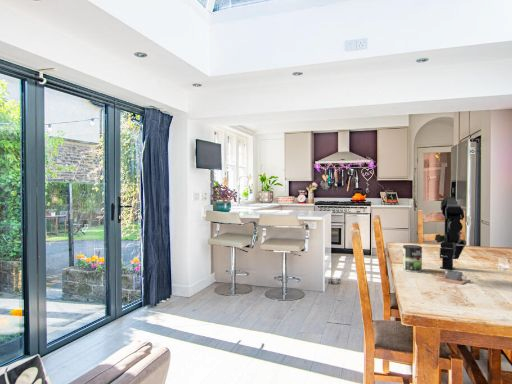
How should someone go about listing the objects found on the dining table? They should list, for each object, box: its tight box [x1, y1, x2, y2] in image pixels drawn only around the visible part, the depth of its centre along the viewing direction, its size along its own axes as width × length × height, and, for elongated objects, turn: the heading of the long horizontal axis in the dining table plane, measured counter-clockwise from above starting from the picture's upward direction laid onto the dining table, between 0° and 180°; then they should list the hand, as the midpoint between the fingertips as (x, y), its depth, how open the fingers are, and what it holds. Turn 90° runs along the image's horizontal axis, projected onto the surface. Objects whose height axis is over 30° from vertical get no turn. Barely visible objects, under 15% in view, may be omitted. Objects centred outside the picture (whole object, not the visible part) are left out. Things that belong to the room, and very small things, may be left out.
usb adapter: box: [444, 269, 468, 281], centre depth 190 cm, size 10×4×4 cm, turn 42°
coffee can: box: [402, 244, 423, 273], centre depth 214 cm, size 10×10×14 cm
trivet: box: [436, 275, 471, 285], centre depth 191 cm, size 12×12×1 cm
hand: (453, 260), depth 191 cm, fingers open, 9 cm apart
